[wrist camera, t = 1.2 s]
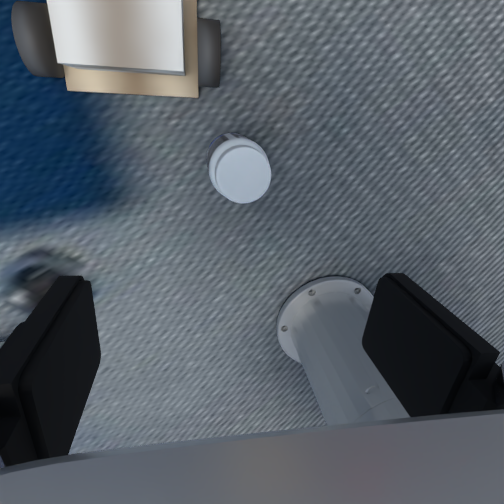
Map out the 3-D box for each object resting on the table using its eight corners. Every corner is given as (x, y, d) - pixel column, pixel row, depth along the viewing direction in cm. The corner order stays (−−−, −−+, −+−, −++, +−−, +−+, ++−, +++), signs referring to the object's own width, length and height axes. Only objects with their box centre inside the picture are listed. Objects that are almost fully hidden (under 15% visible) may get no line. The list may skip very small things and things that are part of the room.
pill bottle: (215, 190, 31) (221, 217, 23) (199, 140, 29) (200, 152, 21) (262, 176, 31) (282, 198, 24) (249, 125, 29) (268, 132, 22)
